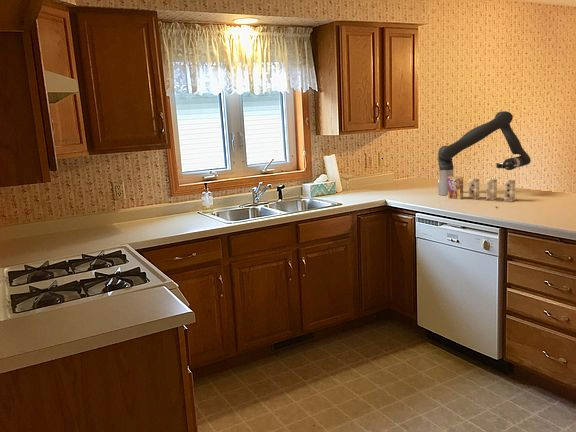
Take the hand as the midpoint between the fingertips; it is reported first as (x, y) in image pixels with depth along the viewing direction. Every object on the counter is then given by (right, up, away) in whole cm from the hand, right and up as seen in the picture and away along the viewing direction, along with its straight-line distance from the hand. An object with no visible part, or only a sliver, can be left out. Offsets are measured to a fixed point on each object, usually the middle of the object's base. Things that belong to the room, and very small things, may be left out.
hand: (500, 166), depth 308 cm
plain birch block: (-7, -20, -5) cm, 22 cm away
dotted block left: (-15, -19, +3) cm, 25 cm away
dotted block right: (0, -21, -12) cm, 25 cm away
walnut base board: (-8, -22, -5) cm, 24 cm away
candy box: (-25, -21, +7) cm, 34 cm away
